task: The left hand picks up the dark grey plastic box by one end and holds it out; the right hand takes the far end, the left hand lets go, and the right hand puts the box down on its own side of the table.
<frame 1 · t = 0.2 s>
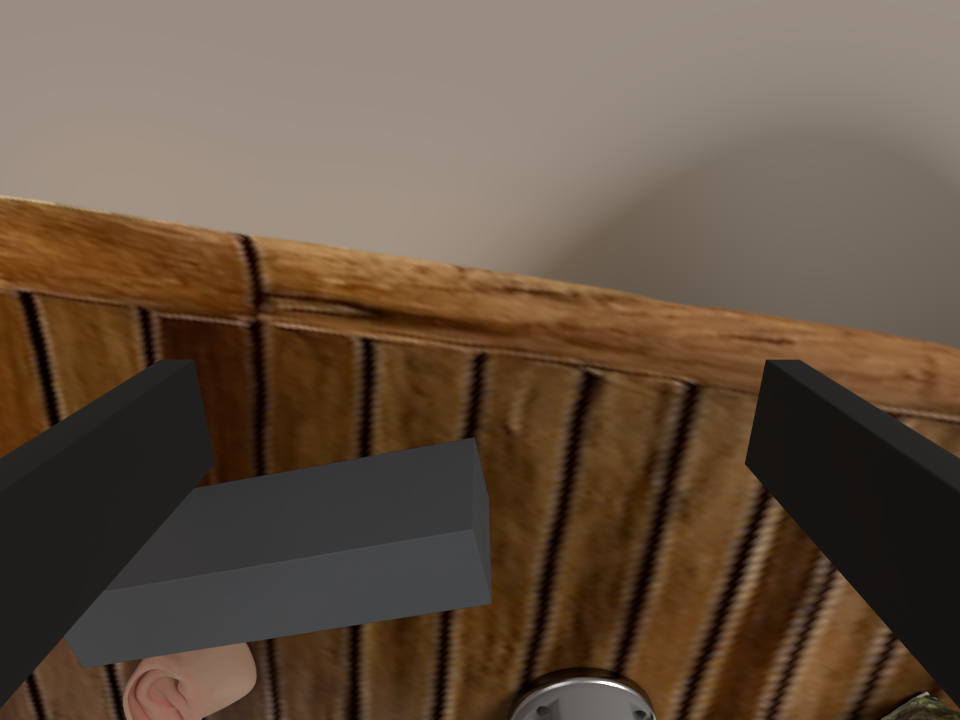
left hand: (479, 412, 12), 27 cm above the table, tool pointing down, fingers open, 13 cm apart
box: (317, 497, 46), on the table
anatomical model: (198, 667, 53), on the table
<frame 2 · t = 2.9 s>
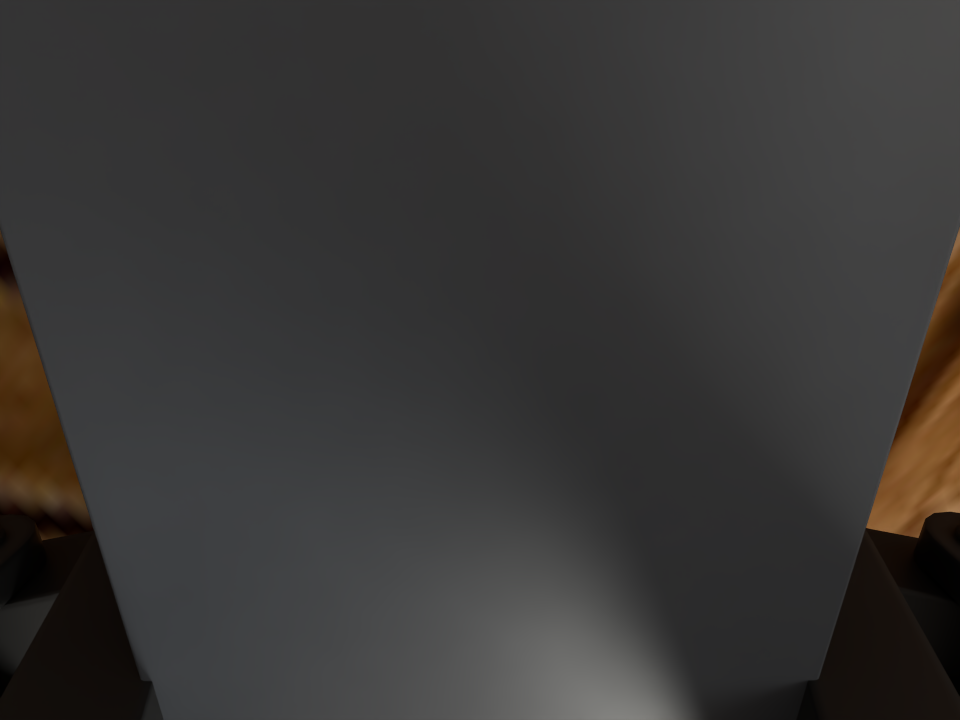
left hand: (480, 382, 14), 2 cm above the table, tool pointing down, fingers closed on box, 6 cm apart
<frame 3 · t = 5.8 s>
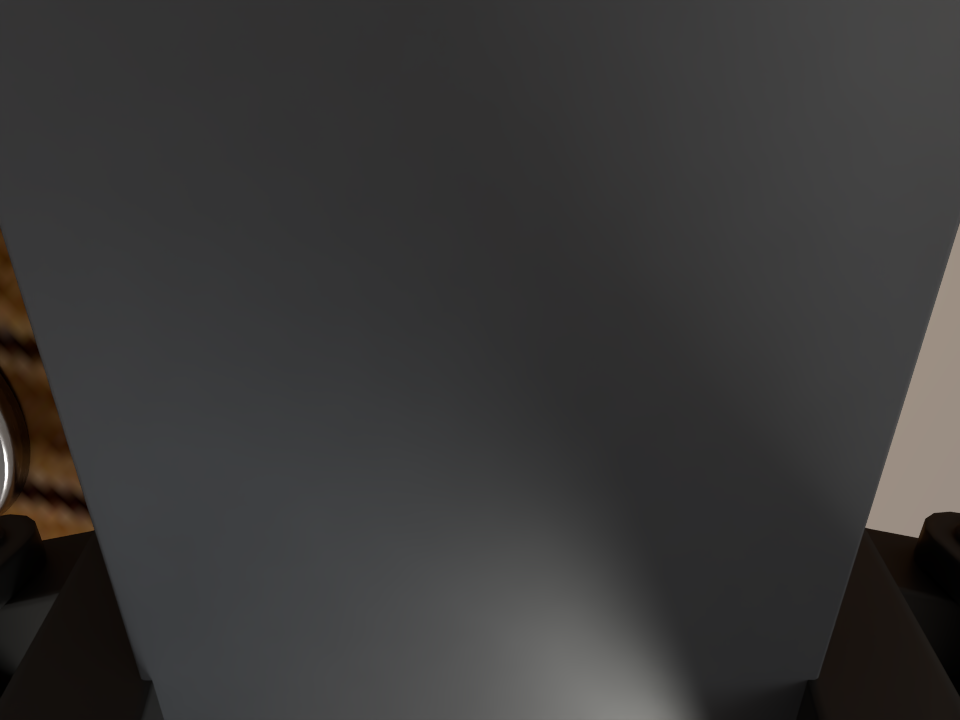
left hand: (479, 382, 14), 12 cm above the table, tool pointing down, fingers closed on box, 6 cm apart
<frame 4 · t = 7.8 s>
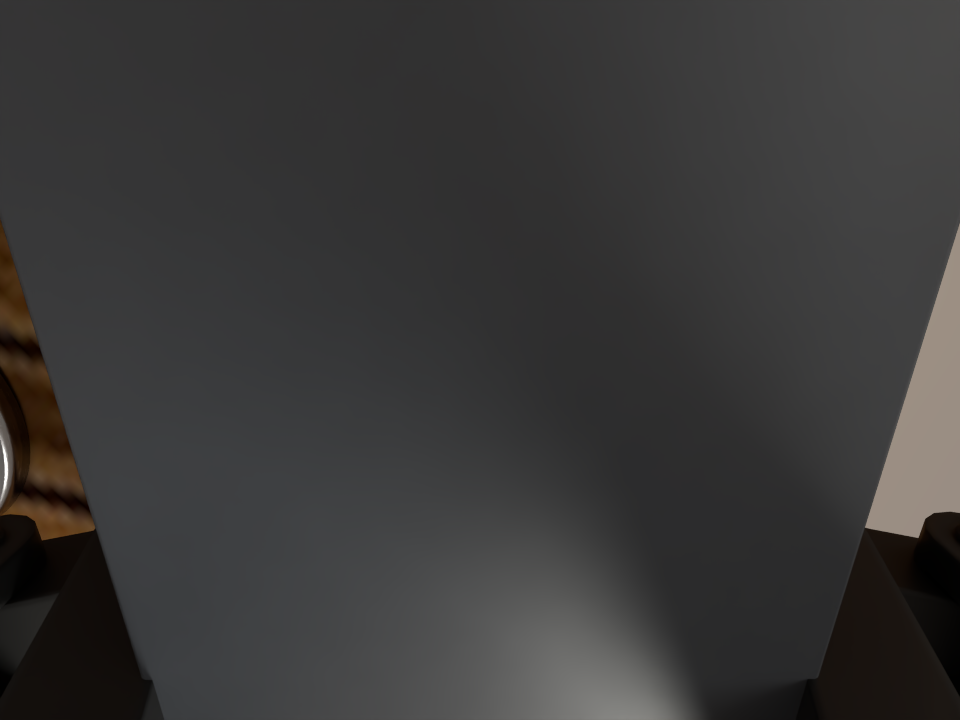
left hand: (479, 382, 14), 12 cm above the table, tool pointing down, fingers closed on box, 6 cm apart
when the left hand's fingers open (12 cm above the table, at t = 8.6 s): box stays where it is, held by the right hand.
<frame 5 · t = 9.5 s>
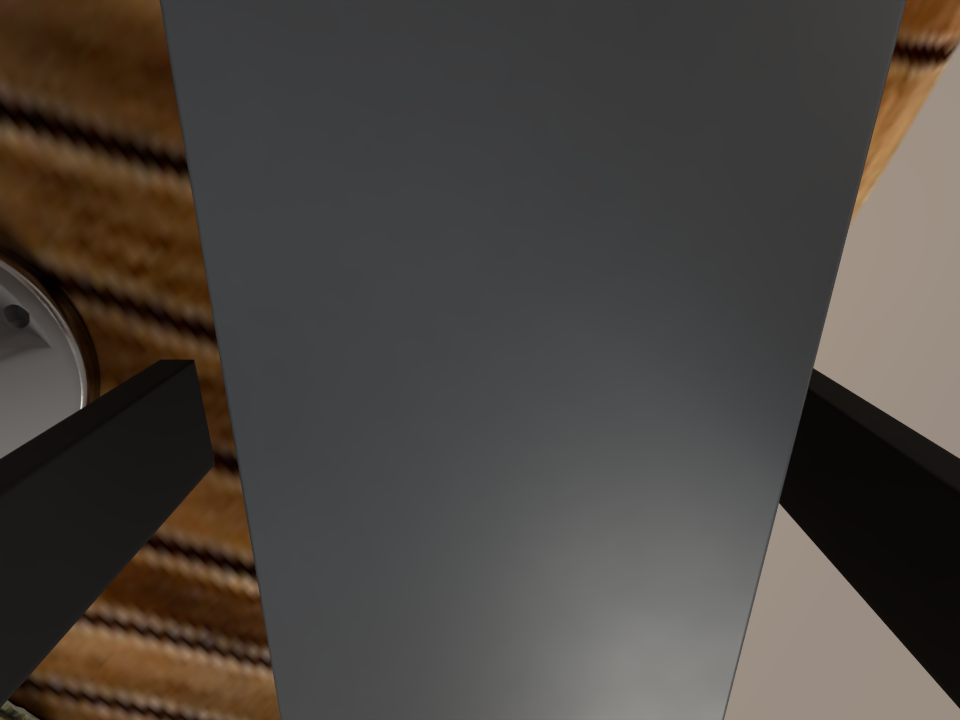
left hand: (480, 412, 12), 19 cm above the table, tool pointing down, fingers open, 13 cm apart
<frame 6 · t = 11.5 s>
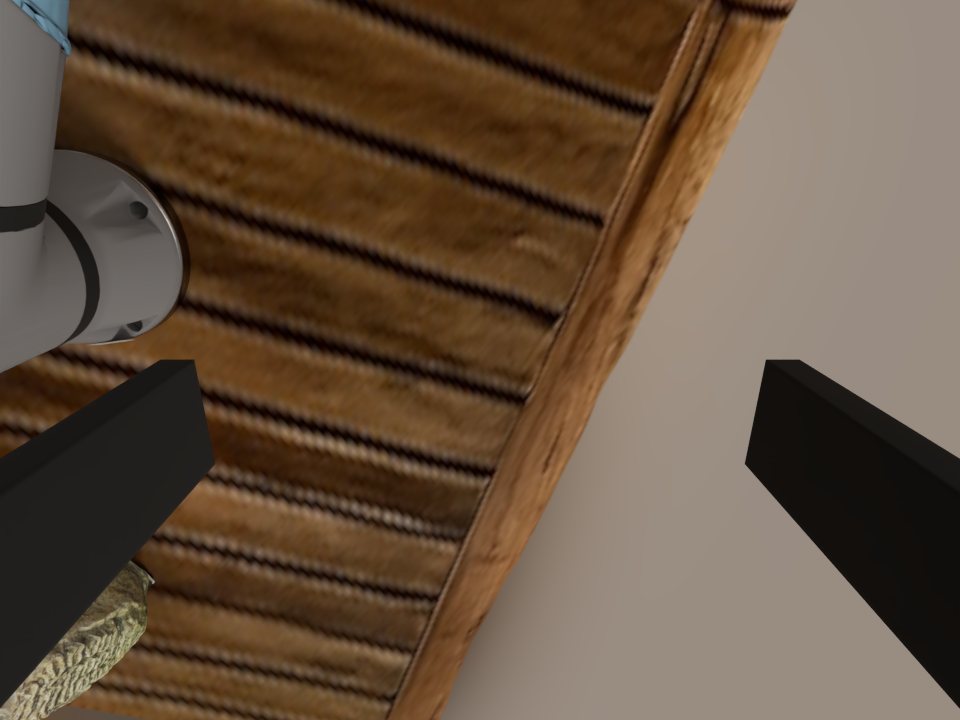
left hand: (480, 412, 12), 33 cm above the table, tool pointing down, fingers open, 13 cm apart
fossil: (85, 557, 55), on the table
when the right hand's fingers open (3 cm above the table, at t = 15.2 s): box drops 1 cm, on the table.
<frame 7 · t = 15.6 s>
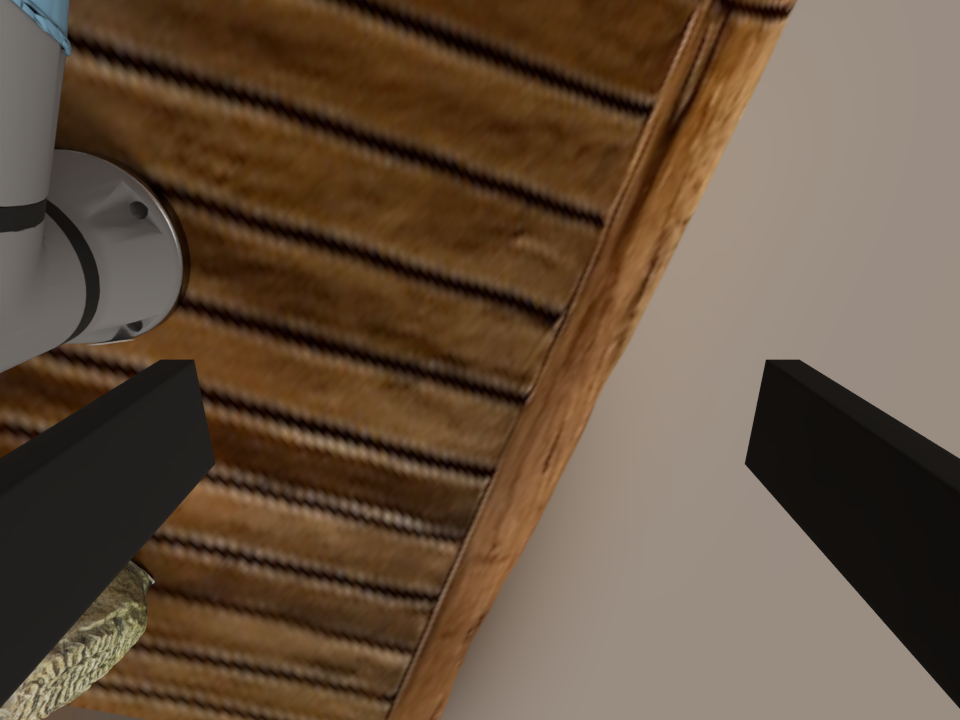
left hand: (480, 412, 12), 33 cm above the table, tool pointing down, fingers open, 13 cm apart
fossil: (85, 557, 55), on the table
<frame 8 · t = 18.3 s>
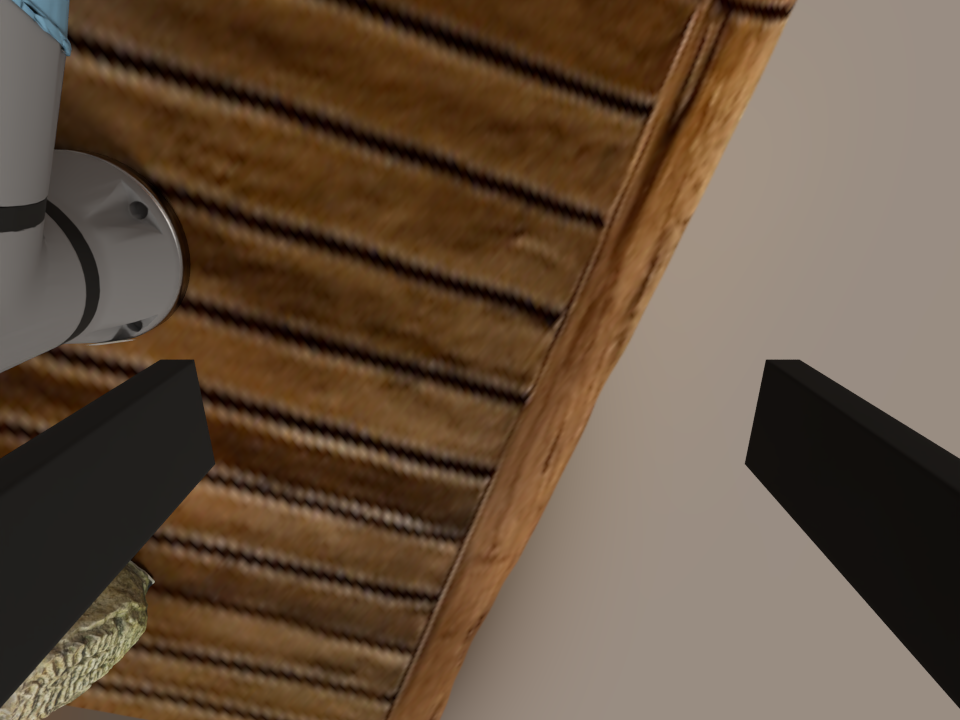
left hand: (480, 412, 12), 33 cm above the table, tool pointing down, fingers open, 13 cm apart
fossil: (85, 557, 55), on the table
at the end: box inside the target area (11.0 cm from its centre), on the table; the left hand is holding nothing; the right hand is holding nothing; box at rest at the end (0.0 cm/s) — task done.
